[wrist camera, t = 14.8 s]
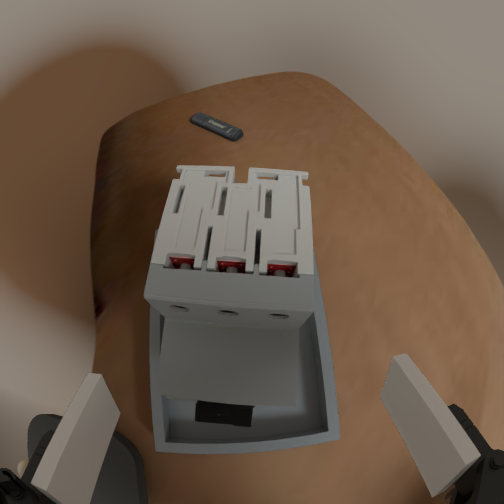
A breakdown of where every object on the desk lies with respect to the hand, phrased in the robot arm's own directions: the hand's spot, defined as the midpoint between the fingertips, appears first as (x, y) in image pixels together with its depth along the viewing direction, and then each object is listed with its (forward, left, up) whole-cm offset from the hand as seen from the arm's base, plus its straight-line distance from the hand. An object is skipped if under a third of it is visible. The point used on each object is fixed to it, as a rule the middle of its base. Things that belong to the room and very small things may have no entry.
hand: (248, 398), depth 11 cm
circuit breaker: (+5, 0, -14) cm, 15 cm away
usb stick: (+37, +2, -15) cm, 40 cm away
